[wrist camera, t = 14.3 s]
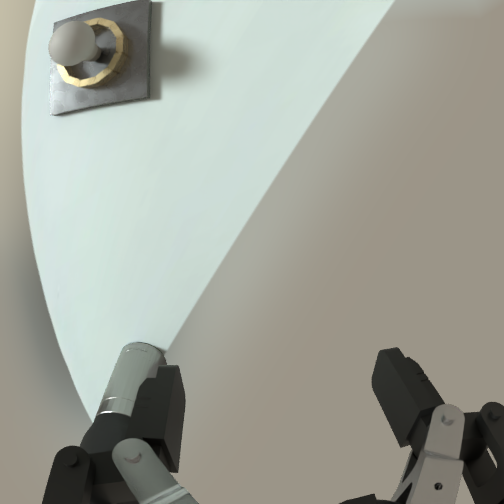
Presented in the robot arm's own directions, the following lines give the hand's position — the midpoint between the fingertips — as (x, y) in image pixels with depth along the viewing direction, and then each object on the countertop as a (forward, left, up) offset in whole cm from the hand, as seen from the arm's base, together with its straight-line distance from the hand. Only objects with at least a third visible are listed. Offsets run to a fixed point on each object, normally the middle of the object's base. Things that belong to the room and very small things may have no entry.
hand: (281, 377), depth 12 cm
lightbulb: (+23, +21, -35) cm, 47 cm away
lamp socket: (+23, +21, -36) cm, 48 cm away
